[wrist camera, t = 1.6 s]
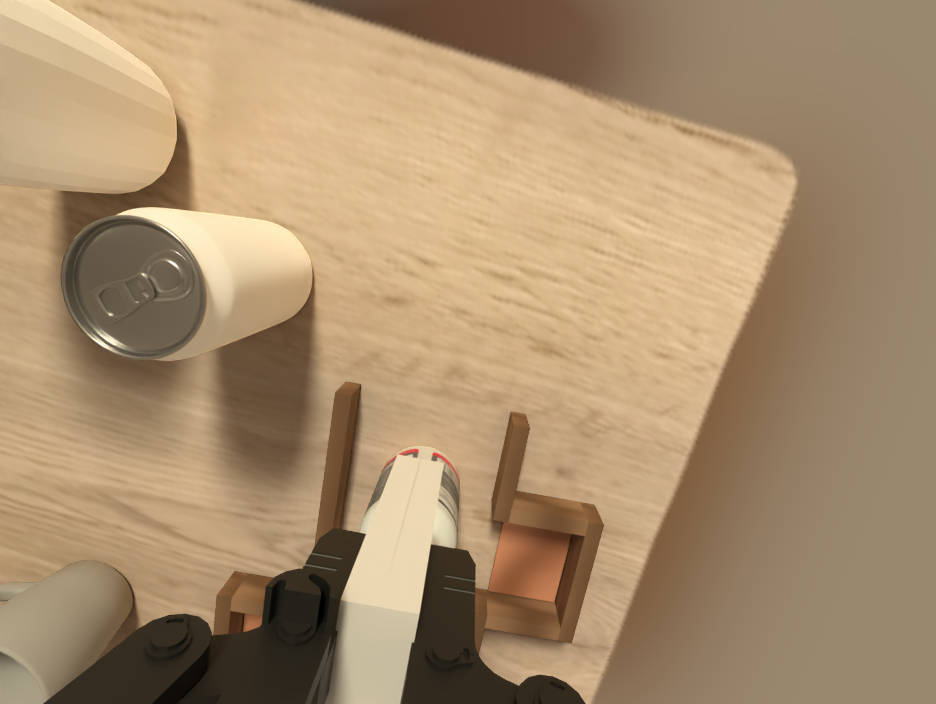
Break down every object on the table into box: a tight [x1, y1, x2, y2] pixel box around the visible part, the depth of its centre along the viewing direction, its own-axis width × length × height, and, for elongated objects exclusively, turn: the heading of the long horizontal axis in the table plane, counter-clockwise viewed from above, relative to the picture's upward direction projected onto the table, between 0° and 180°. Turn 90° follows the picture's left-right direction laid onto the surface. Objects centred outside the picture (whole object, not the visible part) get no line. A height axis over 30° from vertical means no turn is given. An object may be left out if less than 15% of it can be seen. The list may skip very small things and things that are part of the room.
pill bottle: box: [359, 446, 460, 548], centre depth 29 cm, size 5×5×10 cm
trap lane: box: [213, 382, 604, 655], centre depth 34 cm, size 24×31×3 cm
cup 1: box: [0, 0, 177, 194], centre depth 22 cm, size 8×8×14 cm
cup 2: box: [0, 560, 133, 704], centre depth 31 cm, size 8×10×8 cm
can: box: [61, 207, 312, 361], centre depth 25 cm, size 6×6×12 cm
